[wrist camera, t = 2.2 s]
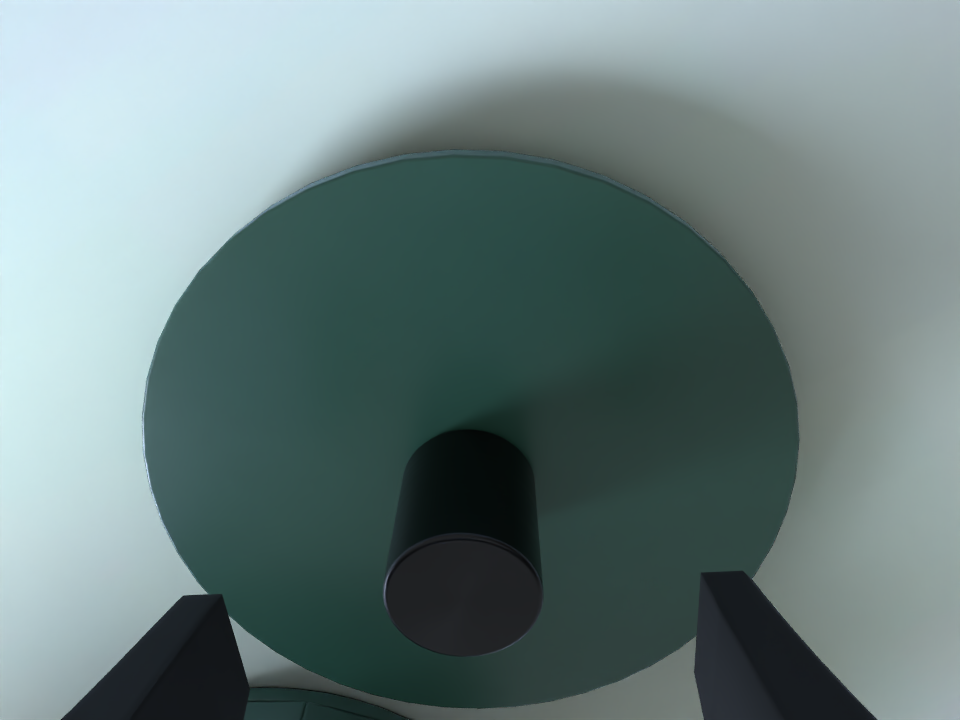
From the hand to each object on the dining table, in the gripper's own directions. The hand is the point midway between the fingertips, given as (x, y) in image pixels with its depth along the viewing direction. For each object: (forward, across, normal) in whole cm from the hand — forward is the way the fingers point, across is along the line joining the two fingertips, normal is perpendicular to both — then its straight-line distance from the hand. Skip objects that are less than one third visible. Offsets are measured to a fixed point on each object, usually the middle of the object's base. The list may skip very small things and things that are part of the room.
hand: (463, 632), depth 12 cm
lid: (+4, 0, 0) cm, 4 cm away
